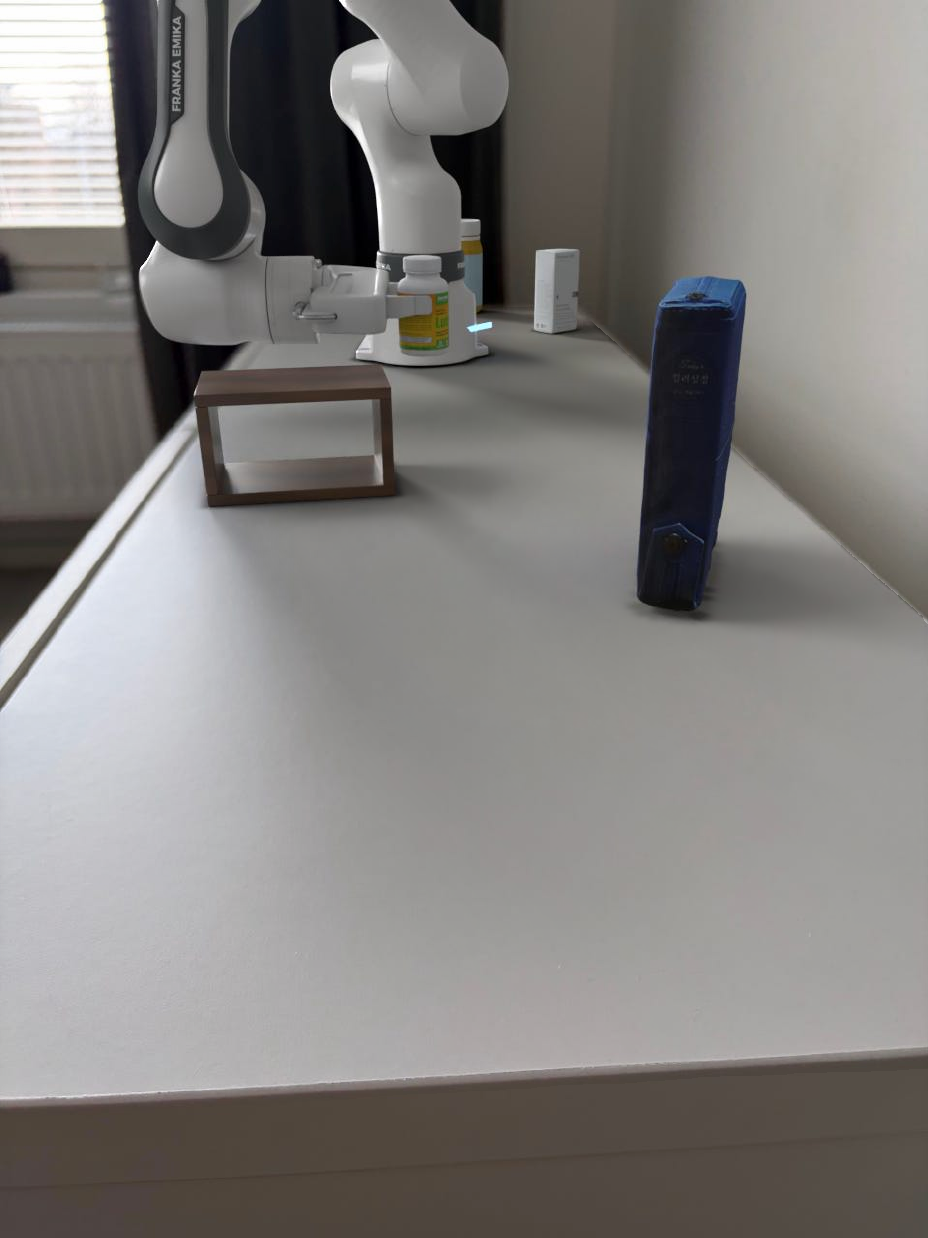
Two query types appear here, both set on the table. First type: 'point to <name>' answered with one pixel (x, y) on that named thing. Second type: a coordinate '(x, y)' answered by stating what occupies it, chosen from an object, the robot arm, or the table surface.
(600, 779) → the table surface
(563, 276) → the cosmetic box
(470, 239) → the bottle
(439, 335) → the supplement bottle
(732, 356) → the book
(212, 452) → the shelf
